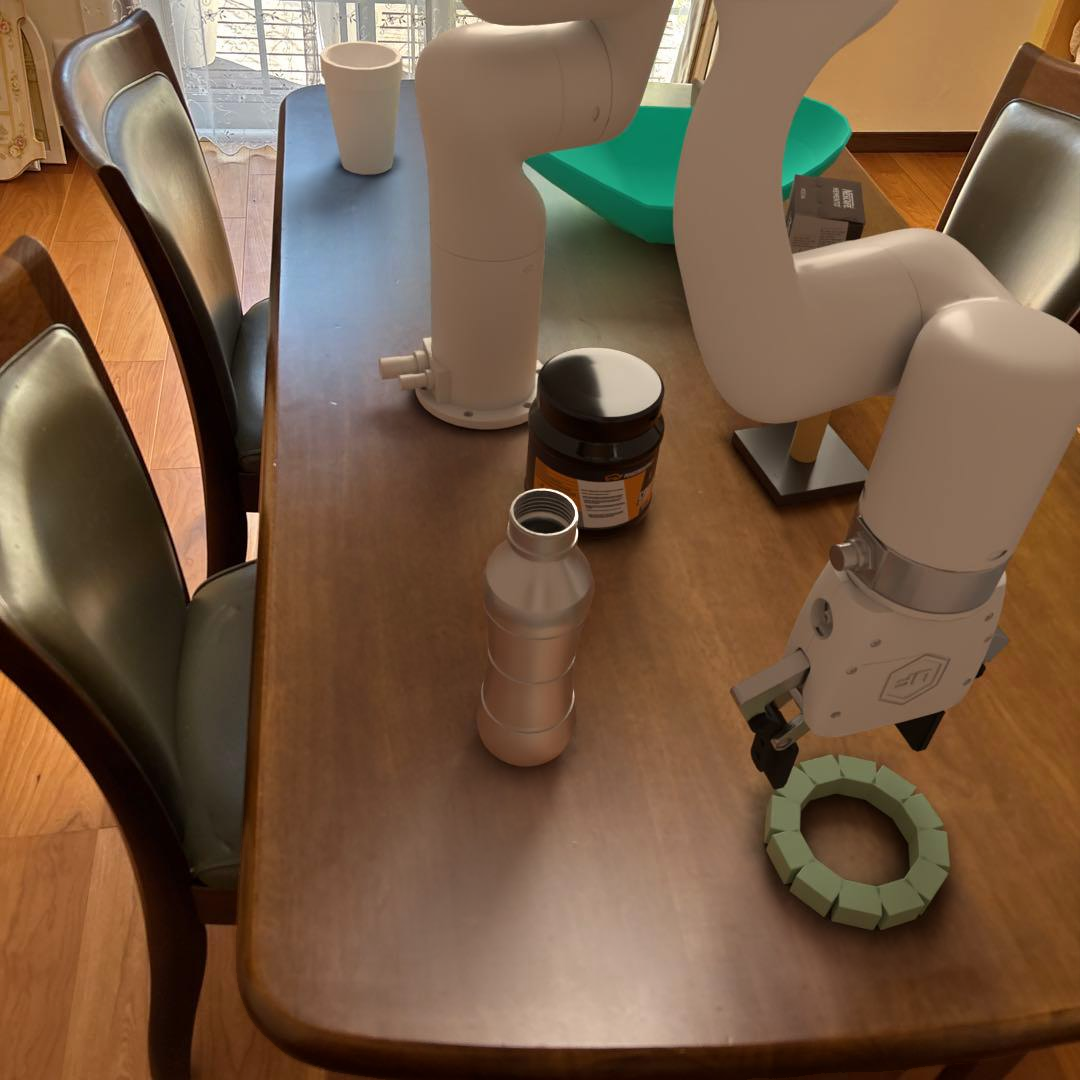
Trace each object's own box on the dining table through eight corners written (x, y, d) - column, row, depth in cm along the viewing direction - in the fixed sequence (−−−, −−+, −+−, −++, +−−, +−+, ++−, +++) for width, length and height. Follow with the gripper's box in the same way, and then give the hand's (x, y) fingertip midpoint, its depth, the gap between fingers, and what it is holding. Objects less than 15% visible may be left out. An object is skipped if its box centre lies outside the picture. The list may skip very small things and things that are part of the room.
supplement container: (606, 564, 79) (624, 442, 71) (496, 507, 83) (502, 385, 75) (672, 495, 86) (697, 375, 77) (568, 445, 90) (581, 326, 81)
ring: (817, 950, 58) (826, 936, 56) (735, 793, 65) (741, 777, 64) (974, 900, 61) (985, 886, 59) (879, 755, 68) (887, 739, 66)
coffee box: (820, 378, 100) (867, 223, 89) (754, 367, 100) (792, 212, 89) (820, 330, 106) (864, 180, 95) (758, 320, 107) (794, 170, 96)
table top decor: (785, 178, 133) (810, 72, 124) (857, 287, 113) (893, 170, 104) (481, 174, 128) (484, 64, 119) (500, 288, 108) (505, 166, 99)
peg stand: (778, 506, 85) (811, 396, 78) (731, 441, 91) (757, 333, 84) (871, 489, 88) (911, 381, 80) (819, 427, 94) (852, 321, 86)
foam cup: (321, 152, 130) (312, 44, 121) (391, 144, 133) (388, 38, 124) (340, 184, 124) (332, 72, 115) (414, 175, 127) (411, 66, 118)
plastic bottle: (569, 696, 70) (600, 471, 56) (575, 782, 65) (611, 558, 51) (475, 695, 69) (482, 467, 55) (473, 781, 64) (481, 555, 51)
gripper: (809, 635, 46) (738, 838, 58) (1116, 566, 51) (993, 767, 62) (735, 527, 51) (683, 733, 63) (1020, 473, 56) (923, 675, 67)
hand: (837, 750), depth 62 cm, fingers open, 9 cm apart
